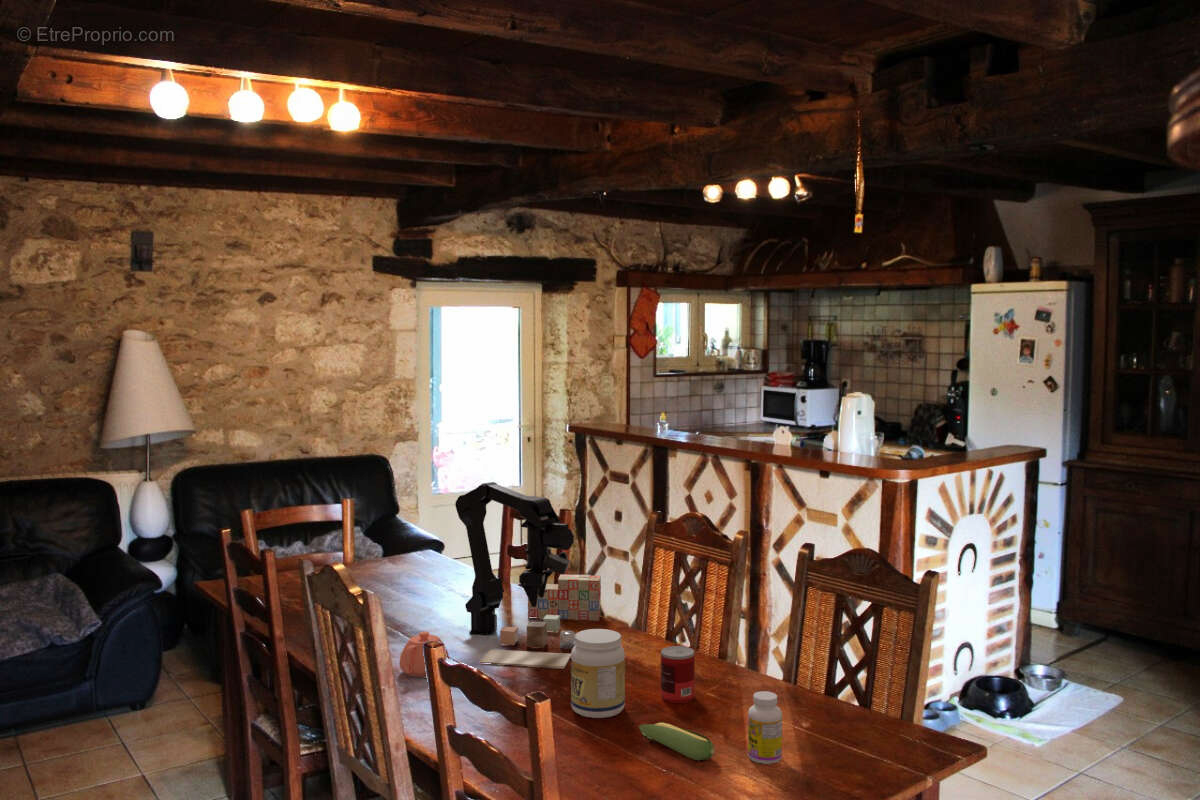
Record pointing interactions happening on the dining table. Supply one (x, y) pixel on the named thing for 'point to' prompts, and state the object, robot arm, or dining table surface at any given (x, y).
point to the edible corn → (680, 740)
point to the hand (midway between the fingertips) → (537, 602)
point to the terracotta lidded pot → (416, 654)
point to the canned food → (677, 674)
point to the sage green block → (552, 622)
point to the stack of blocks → (570, 598)
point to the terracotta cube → (509, 635)
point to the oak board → (527, 658)
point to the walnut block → (536, 634)
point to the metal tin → (567, 639)
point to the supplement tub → (597, 673)
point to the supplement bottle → (765, 729)
